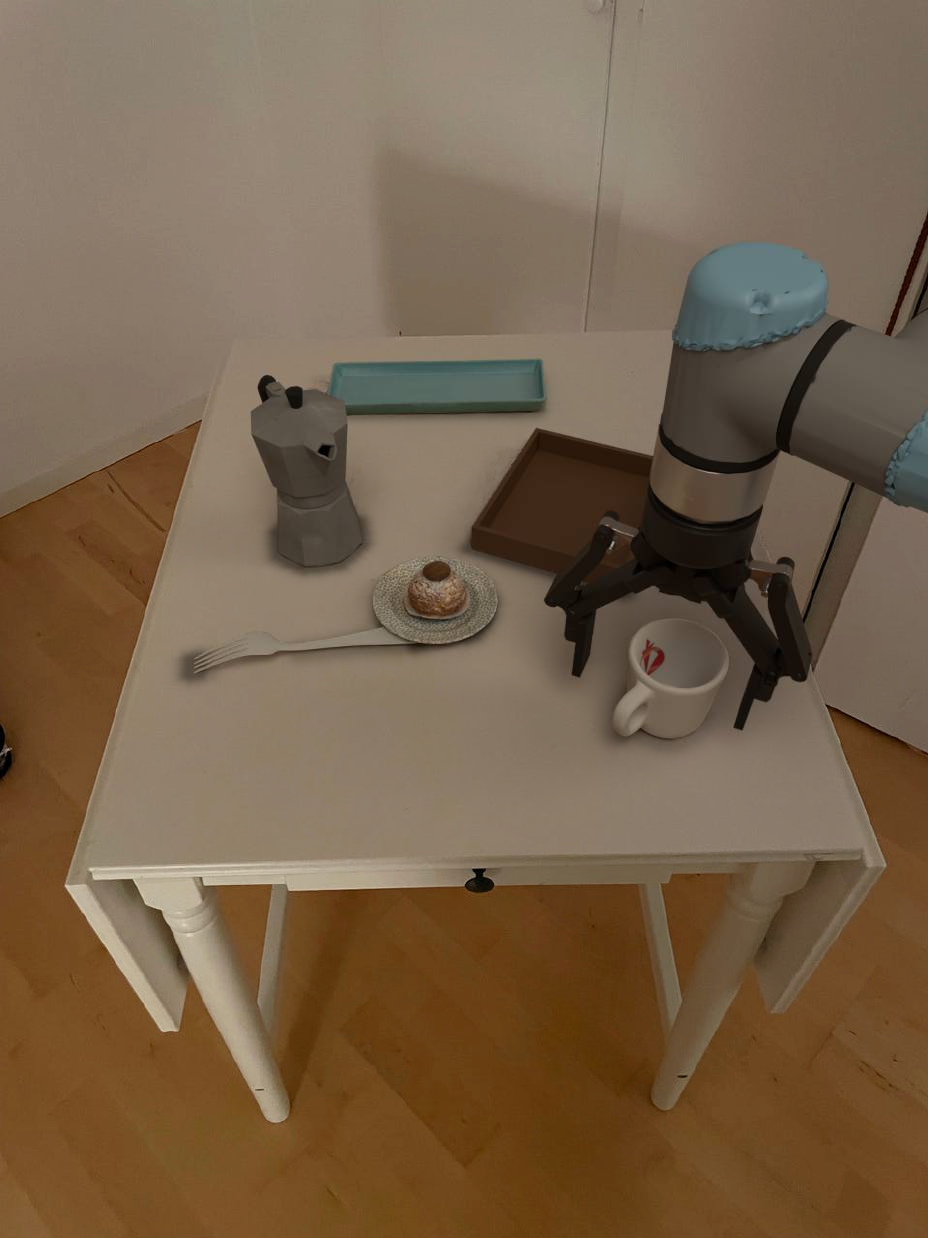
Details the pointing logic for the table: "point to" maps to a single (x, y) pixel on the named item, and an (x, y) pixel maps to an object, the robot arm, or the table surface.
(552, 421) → the table surface
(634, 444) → the table surface
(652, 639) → the cup
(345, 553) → the coffeepot
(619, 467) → the tray
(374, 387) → the shallow long dish
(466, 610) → the pastry
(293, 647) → the fork
